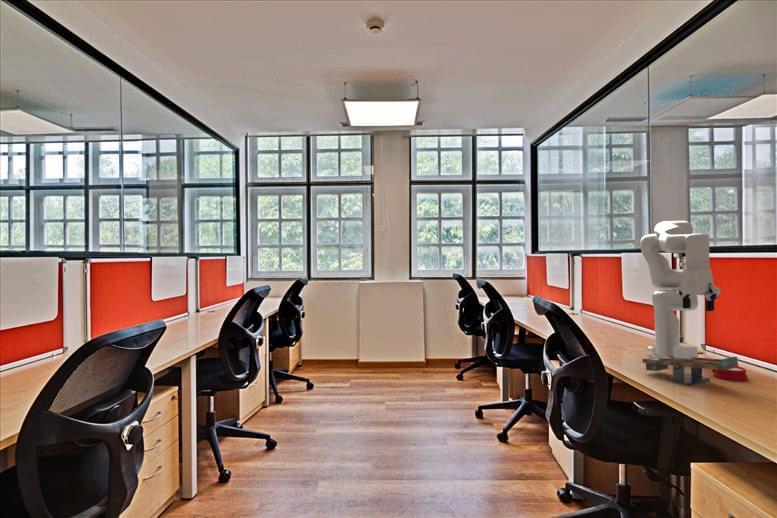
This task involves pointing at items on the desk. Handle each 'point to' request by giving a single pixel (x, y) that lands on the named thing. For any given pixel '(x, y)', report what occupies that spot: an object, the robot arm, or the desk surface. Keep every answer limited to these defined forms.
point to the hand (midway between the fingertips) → (698, 309)
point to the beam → (689, 363)
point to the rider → (685, 353)
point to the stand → (687, 376)
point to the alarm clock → (731, 374)
